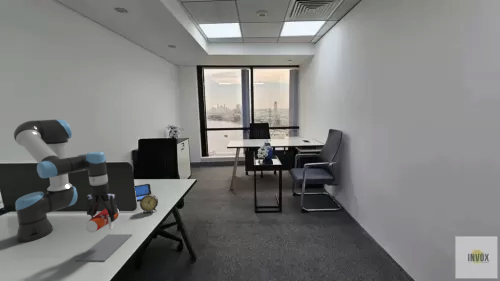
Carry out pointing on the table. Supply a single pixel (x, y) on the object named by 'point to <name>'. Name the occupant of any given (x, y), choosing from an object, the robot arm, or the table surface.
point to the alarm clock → (149, 202)
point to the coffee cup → (99, 221)
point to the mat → (104, 247)
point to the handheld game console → (142, 191)
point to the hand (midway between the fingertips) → (104, 227)
